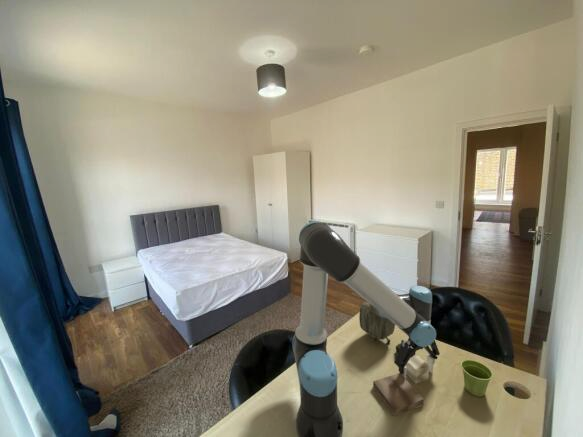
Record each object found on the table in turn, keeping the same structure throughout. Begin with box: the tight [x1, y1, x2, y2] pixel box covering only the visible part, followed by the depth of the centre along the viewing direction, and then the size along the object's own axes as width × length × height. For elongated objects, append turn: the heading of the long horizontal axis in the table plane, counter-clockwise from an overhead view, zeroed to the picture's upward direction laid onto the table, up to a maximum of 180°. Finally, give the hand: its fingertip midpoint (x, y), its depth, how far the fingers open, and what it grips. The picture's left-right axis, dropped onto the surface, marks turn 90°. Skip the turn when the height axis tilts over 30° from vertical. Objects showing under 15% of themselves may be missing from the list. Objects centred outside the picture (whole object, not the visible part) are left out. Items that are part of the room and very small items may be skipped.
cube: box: [406, 355, 430, 384], centre depth 99 cm, size 6×6×6 cm
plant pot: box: [460, 359, 494, 397], centre depth 91 cm, size 9×9×9 cm
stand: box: [372, 372, 425, 417], centre depth 91 cm, size 12×12×2 cm
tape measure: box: [395, 343, 416, 357], centre depth 110 cm, size 7×7×4 cm
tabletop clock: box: [358, 301, 396, 344], centre depth 119 cm, size 14×9×25 cm, turn 34°
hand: (416, 375), depth 99 cm, fingers open, 12 cm apart
